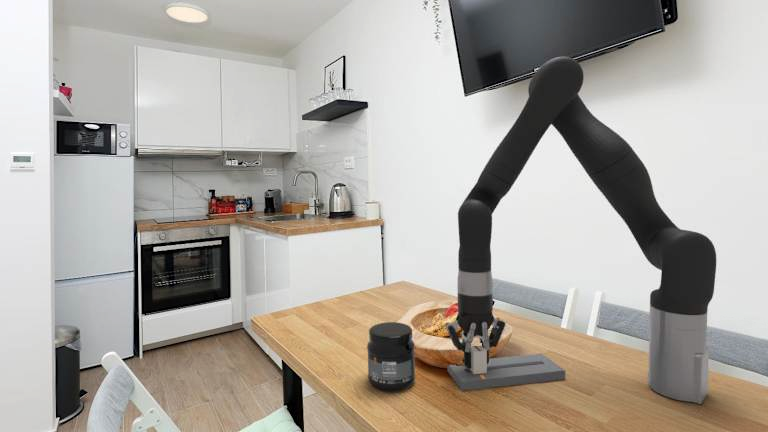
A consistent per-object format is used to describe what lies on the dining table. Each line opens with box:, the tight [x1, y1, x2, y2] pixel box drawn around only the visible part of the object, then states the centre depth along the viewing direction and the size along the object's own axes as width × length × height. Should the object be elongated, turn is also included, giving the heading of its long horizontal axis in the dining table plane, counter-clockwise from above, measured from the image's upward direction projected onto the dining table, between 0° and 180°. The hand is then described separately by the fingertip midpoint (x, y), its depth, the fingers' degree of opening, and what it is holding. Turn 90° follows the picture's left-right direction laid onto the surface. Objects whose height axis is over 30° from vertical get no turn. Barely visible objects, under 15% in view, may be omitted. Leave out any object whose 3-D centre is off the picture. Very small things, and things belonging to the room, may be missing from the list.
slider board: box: [447, 352, 566, 392], centre depth 86 cm, size 24×9×2 cm, turn 100°
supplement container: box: [366, 321, 416, 393], centre depth 84 cm, size 10×10×12 cm
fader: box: [469, 346, 487, 374], centre depth 84 cm, size 3×5×5 cm, turn 10°
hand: (475, 365), depth 84 cm, fingers closed on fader, 3 cm apart
